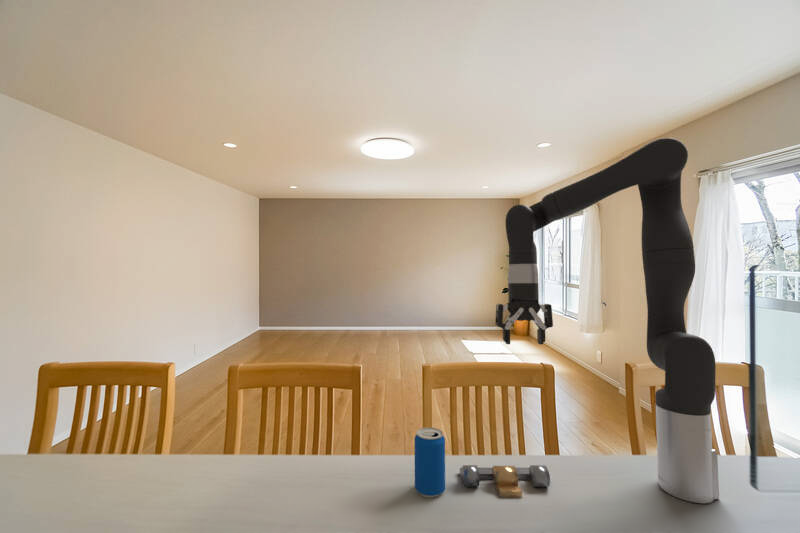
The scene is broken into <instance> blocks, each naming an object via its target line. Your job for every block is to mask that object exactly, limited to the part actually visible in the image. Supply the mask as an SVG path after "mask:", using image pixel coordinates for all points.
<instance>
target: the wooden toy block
mask: <svg viewBox="0 0 800 533" xmlns="http://www.w3.org/2000/svg"><path fill="white" fill-rule="evenodd" d="M491 468H492V475H493V479H492V480H493V485H494V487H495V490H496V492H497V493H498V495H499V497H500V498H523V490H522V489H521V488H520V485H519V479H518V474H517V470H516V468H517V467H516V466H515V465H492V467H491Z"/></svg>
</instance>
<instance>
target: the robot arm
mask: <svg viewBox="0 0 800 533" xmlns="http://www.w3.org/2000/svg"><path fill="white" fill-rule="evenodd" d="M688 157H689V151H688V148H687V146H686V145H685V144H684V142H683V141H681V140H678V139H676V138H673V137H662V138H657V139H655V140H652V141H650V142H649V143H647V144H646V145H643V146H642V147H640V148H639V149H636V150H635V151H633V152H632V153H630V154H629V155H627V156H626V157H624V158H622V159H621V160H618V161H617V162H614V163H613V164H612V165H610V166H607V167H606V168H604V169H602V170H600V171H598V172H595V173H594V174H591V175H589V176H587V177H585V178H583V179H581V180H578V181H575V182H573V183H571V184H569V185H566V186H563V187H562V188H559V189H557V190H555V191H553V192H550V193H547V194H546V195H545V196H543V197H542V199H541V201H538V202H536V203H534V204H532V205H529V206H527V205H526V204H516V205H513V206H512V207H510V208H509V209H508V211H507V213H506V215H505V232H506V238H507V243H508V270H507V271H508V272H507V287H508V288H507V289H508V290H507V291H508V292H507V294H508V302H507V304H502V303H497V304H496V305H495V326H496V327H498V328H501V329H502V340H503V342H504V343H505V345H511V330H510V328H511V327H512V325H513V324H515V323H516V321H518V322H523V321H527V322H531V321H532V322H533V323H534V324H535V325H536V326H537V330H536V332H537V333H536V335H537V336H536V337H537V344H539V345H544V343H545V342H546V330H547V329H549V328H553V327H554V321H553V319H554V318H553V307H552V305H551V304H550V303H543V304H540V302H539V300H540V299H539V297H540V296H539V271H538V270H539V268H538V254H537V252H538V251H537V246H536V245H537V244H536V243H535V241H534V232H536V231H539V230H540V229H543V228H544V227H546V226H548V225H550V224H552V223H554V222H555V221H558V220H561V219H564V218H566V217H569V216H572V215H574V214H577V213H579V212H581V211H584V210H585V209H587V208H588V209H589V208H590V207H592V206H593V205H596V204H597V203H599V202H600V201H603V200H604V199H606V198H608V197H611V196H612V195H614V194H617V193H619V192H620V191H624V190H626V189H629V188H631V187H634V186H637V188H638V193H639V198H640V202H641V208H642V209H641V210H642V220H641V257H642V267H643V275H644V285H645V296H646V297H645V298H646V307H647V324H646V326H647V327H646V352H647V355H648V357H649V360H650V361H651V363H652V364H653V365H654V366H655V367H657V368H658V369H660V370H662V371H664V386H663V388H660V389H657V390H655V393H654V395H655V396H654V397H655V425H656V426H655V429H656V449H657V450H656V452H657V453H656V454H657V478H658V479H657V481H658V486H659V488H661V490H663V491H664V492H666V493H667V494H669V495H671V496H672V497H675V498H677V499H681V500H683V501H687V502H690V503H691V502H692V503H695V504H711V503H713V502H714V501H715V500H720V485H719V484H720V483H719V462H718V452H717V450H716V449H715V448H713V439H712V438H713V437H712V436H713V434H712V418H711V417H712V415H711V413H712V412H711V411H712V410H711V408H712V407H711V406H712V404H713V402H714V400H715V397H716V375H717V373H716V356H715V353H714V350H713V348H712V346H711V345H710V343H709V342H708V341H707V340H705V339H704V338H702V337H699V336H697V335H695V334H690V333H687V329H686V323H685V303H686V300H687V297H688V294H689V292H690V290H691V287H692V285H693V281H694V280H695V279H694V278H695V275H696V259H695V258H696V257H695V249H694V247H695V246H694V240H693V236H692V233H691V230H690V227H689V224H688V221H687V218H686V216H685V215H686V214H685V212H684V209H683V205H682V204H683V203H682V195H681V194H682V192H681V189H682V173H683V171H684V168H686V164H687V162H688V159H689V158H688ZM506 310H507V311H508V312H509V315H508V316H507V318H506V320H505V321H504V320H503V319H504V313H505V312H506ZM540 311H541V312H542V313H543V321H544V322H543V321H542V319H541V318H540V316H539V315H538V313H540Z"/></svg>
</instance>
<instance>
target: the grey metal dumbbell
mask: <svg viewBox="0 0 800 533" xmlns="http://www.w3.org/2000/svg"><path fill="white" fill-rule="evenodd" d="M492 468H493V467H478V465H477V464H473V465H472V464H469V465H467V464H463V465H462V467H459V474H460V477H461V481H462V484H463V487H472V488H474V487H476V488H477V487H479V486H480V480H493V475H492ZM548 469H549V468H548V467H547V466H546V465H545V464H544V465H542V464H539V465H538V464H537V465H535V464H534V465H533V464H532V465H531V464H530V465H529V467H516V470H517V474H518V480H528V481H529V482H530V484H531V486H533V487H536V488H538V487H540V488H541V487H544V488H545V487H547V488H549V487H550V486H551V478H550V477H551V476H550V472H549V470H548Z"/></svg>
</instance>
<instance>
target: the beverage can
mask: <svg viewBox="0 0 800 533" xmlns="http://www.w3.org/2000/svg"><path fill="white" fill-rule="evenodd" d="M414 489H415V491H417V493H419V495H421V496H422V497H425V498H430V499H431V498H437V497H439V496H440V495H441V494H444V492H445V491H446V439H445V436H444V432H443V431H442V430H441V429H440V428H439V429H438V428H436V427H421V428H420V429H419V428H418V430H417V431H416V435H415V436H414Z"/></svg>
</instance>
